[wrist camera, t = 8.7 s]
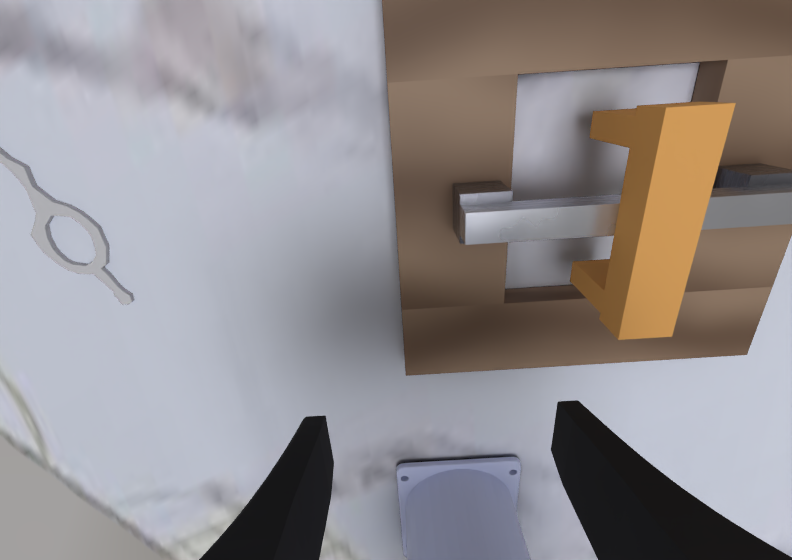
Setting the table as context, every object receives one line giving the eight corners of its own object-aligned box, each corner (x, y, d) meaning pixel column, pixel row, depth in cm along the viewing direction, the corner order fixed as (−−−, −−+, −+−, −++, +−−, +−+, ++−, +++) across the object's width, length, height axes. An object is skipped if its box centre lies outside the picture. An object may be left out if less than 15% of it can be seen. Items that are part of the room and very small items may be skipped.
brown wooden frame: (725, 338, 23) (746, 354, 21) (404, 358, 23) (405, 375, 21) (864, -70, 15) (911, -86, 14) (379, -36, 15) (379, -48, 14)
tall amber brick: (611, 284, 19) (671, 336, 15) (569, 286, 19) (618, 339, 15) (645, 99, 16) (735, 102, 12) (594, 102, 16) (665, 107, 12)
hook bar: (745, 209, 18) (814, 232, 15) (452, 228, 18) (464, 254, 15) (760, 163, 17) (836, 178, 14) (452, 183, 17) (465, 202, 14)
